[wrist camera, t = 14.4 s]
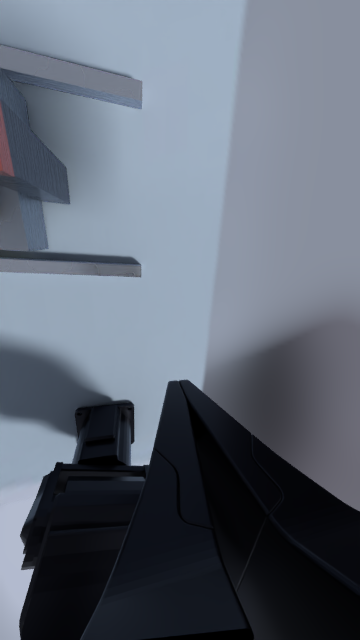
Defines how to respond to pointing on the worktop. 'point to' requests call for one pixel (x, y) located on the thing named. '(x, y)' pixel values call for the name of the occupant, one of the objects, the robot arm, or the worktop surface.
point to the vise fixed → (84, 84)
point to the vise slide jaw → (25, 175)
